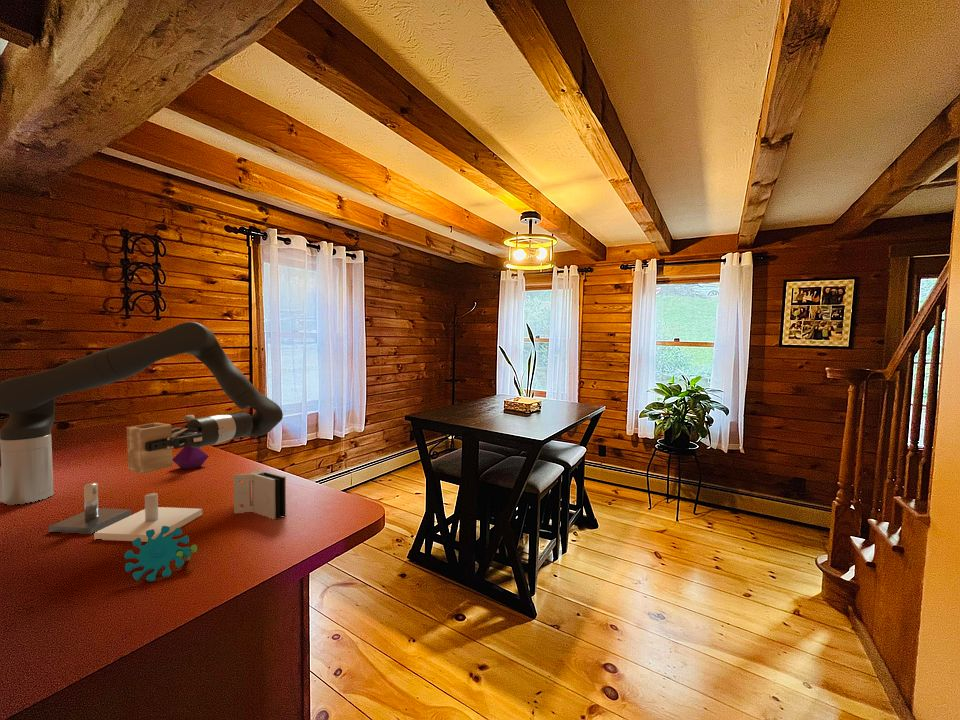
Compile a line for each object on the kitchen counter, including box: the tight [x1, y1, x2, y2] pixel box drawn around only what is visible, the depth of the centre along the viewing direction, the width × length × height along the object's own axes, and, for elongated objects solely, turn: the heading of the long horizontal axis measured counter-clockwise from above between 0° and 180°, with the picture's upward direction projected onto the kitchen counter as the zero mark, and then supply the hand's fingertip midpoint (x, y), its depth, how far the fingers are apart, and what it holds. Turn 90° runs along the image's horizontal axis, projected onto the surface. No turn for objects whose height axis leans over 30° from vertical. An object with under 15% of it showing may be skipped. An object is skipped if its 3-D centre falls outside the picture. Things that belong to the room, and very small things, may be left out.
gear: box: [123, 526, 198, 583], centre depth 79 cm, size 11×6×10 cm
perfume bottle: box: [172, 414, 210, 470], centre depth 139 cm, size 8×8×18 cm
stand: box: [48, 482, 132, 535], centre depth 97 cm, size 10×10×10 cm
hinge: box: [233, 469, 287, 520], centre depth 104 cm, size 14×5×10 cm, turn 74°
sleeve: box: [126, 421, 174, 475], centre depth 95 cm, size 6×6×10 cm
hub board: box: [93, 492, 203, 543], centre depth 96 cm, size 14×14×8 cm
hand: (137, 445), depth 93 cm, fingers closed on sleeve, 6 cm apart
